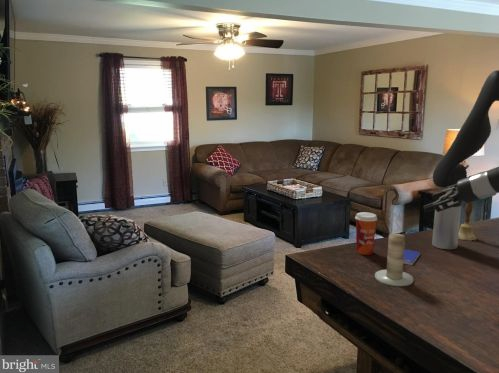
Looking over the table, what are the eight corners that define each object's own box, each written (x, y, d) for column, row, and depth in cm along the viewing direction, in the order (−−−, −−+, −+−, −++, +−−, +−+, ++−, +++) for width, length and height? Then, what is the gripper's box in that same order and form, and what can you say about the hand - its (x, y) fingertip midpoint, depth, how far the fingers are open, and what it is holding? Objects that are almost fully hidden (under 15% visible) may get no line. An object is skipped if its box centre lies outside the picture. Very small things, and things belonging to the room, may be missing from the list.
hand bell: (469, 234, 183) (472, 198, 179) (480, 240, 175) (484, 203, 171) (450, 234, 182) (454, 199, 179) (461, 241, 174) (465, 203, 171)
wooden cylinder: (387, 272, 141) (389, 232, 138) (402, 275, 139) (405, 234, 136) (385, 278, 137) (387, 237, 134) (401, 280, 135) (404, 239, 132)
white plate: (377, 268, 146) (377, 267, 146) (414, 274, 141) (414, 272, 141) (372, 282, 135) (372, 280, 135) (411, 289, 130) (412, 287, 130)
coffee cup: (360, 256, 157) (362, 218, 154) (349, 249, 165) (351, 212, 162) (380, 254, 159) (382, 216, 156) (368, 247, 167) (370, 211, 164)
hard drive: (412, 262, 149) (420, 252, 159) (389, 257, 153) (397, 248, 163) (412, 266, 149) (419, 255, 159) (389, 261, 154) (397, 251, 164)
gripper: (477, 167, 129) (429, 185, 141) (465, 185, 119) (415, 203, 131) (489, 188, 129) (441, 204, 141) (479, 207, 119) (427, 223, 131)
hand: (428, 203), depth 136 cm, fingers open, 8 cm apart
